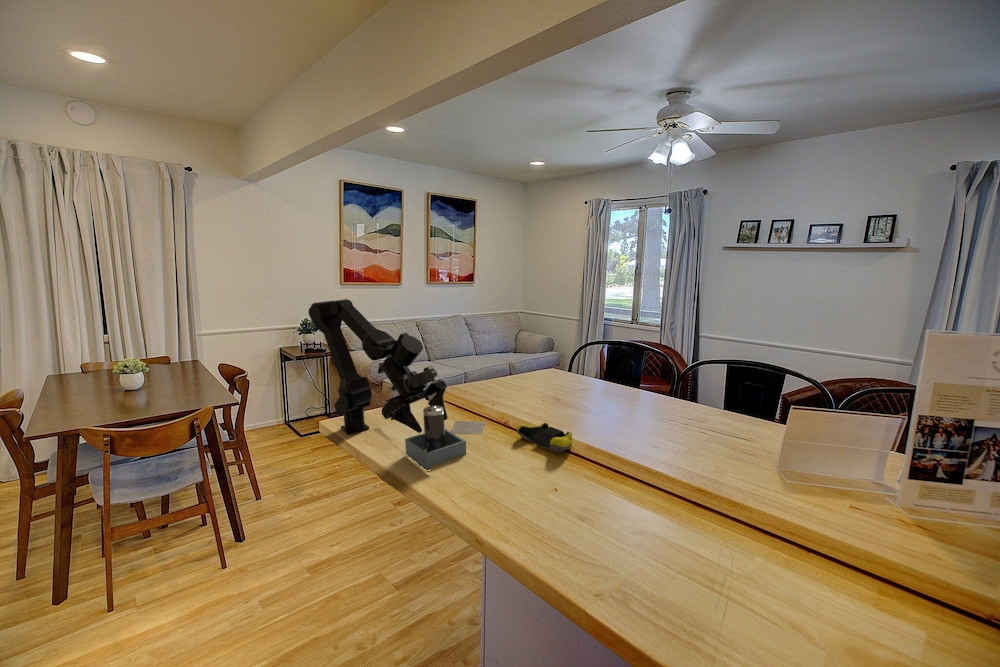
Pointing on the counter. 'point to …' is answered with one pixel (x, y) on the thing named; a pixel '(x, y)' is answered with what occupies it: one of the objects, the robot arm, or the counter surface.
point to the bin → (437, 456)
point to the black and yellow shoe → (546, 437)
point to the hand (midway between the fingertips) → (434, 425)
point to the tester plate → (468, 427)
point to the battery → (434, 428)
